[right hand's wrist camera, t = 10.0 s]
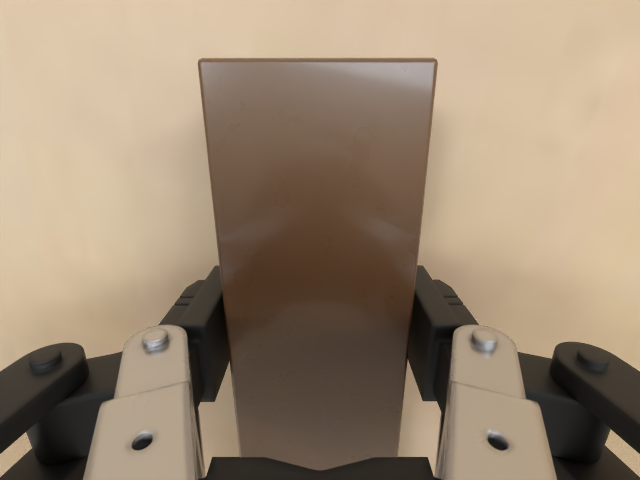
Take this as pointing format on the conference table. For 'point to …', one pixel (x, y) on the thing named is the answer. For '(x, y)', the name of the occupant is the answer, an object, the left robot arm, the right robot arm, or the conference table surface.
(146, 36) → the conference table surface
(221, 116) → the post
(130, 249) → the conference table surface
